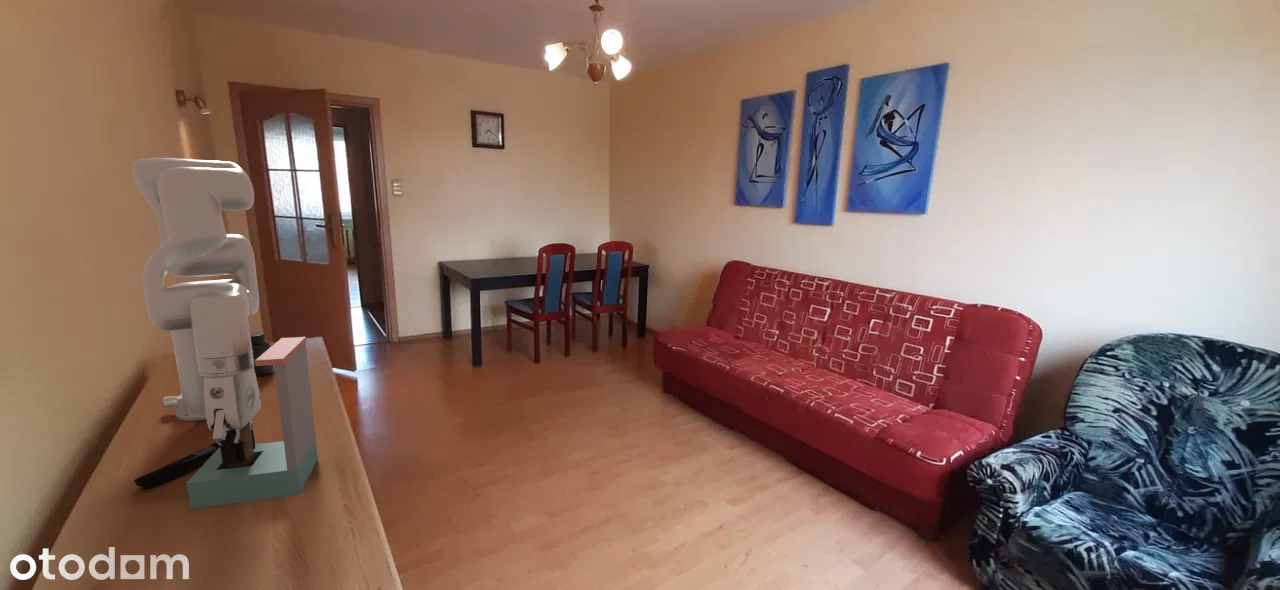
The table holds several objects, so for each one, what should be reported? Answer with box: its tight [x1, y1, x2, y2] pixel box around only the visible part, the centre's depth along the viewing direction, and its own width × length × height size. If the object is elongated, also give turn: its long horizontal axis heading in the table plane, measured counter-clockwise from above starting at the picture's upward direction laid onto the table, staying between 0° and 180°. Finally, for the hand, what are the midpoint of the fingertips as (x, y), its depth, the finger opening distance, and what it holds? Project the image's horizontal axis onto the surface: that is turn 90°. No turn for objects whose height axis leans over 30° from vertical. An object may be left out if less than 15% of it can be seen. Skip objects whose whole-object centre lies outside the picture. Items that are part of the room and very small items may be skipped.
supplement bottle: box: [250, 331, 275, 378], centre depth 144 cm, size 7×7×12 cm
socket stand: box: [185, 336, 319, 510], centre depth 91 cm, size 16×13×26 cm
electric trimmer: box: [133, 442, 220, 489], centre depth 96 cm, size 4×16×3 cm, turn 164°
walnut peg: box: [226, 421, 255, 469], centre depth 91 cm, size 4×4×10 cm
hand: (239, 455), depth 91 cm, fingers closed on walnut peg, 3 cm apart
